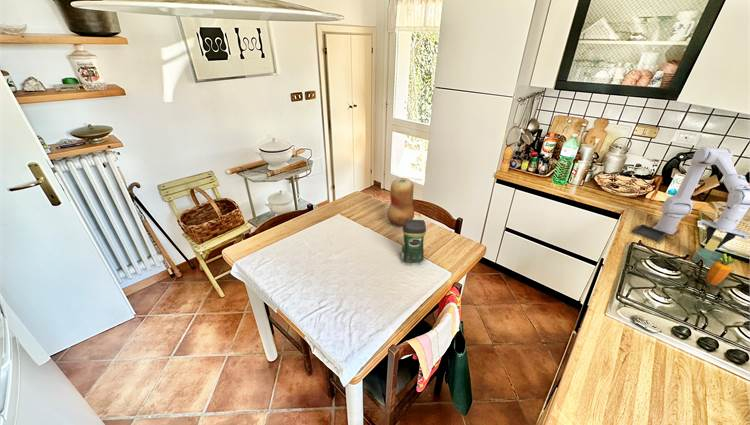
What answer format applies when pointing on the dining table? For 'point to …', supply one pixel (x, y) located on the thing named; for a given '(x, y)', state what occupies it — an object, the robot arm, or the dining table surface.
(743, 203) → the robot arm
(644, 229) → the dark grey flat slab
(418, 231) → the coffee jar
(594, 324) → the dining table surface
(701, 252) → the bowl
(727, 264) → the carrot
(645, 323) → the blueberries
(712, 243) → the butter
